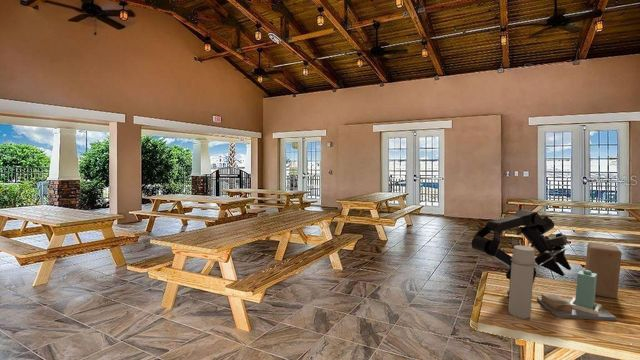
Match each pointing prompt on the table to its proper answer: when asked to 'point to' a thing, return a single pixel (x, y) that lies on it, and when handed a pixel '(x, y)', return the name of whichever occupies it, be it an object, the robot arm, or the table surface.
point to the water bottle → (521, 281)
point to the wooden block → (604, 268)
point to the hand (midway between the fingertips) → (567, 272)
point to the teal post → (586, 289)
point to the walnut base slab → (556, 302)
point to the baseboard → (581, 311)
